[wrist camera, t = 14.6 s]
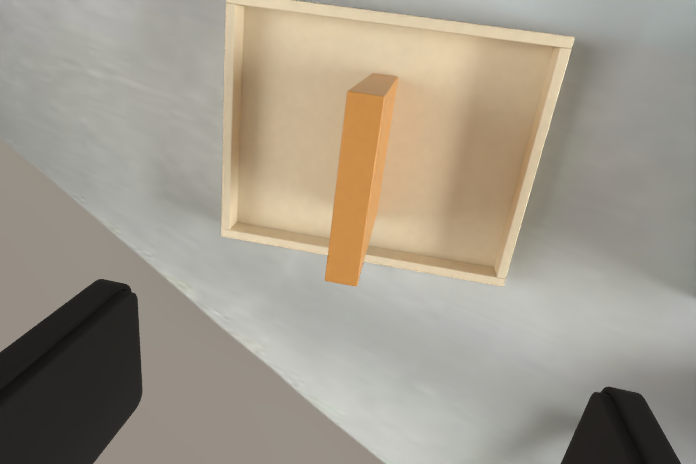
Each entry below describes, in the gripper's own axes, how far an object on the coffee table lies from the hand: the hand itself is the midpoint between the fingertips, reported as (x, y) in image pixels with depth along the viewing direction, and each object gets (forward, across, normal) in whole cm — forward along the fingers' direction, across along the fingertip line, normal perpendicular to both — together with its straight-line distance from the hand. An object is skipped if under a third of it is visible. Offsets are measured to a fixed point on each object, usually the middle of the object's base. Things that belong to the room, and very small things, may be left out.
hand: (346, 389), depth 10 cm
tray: (+23, +2, 0) cm, 23 cm away
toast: (+22, +2, +1) cm, 23 cm away
